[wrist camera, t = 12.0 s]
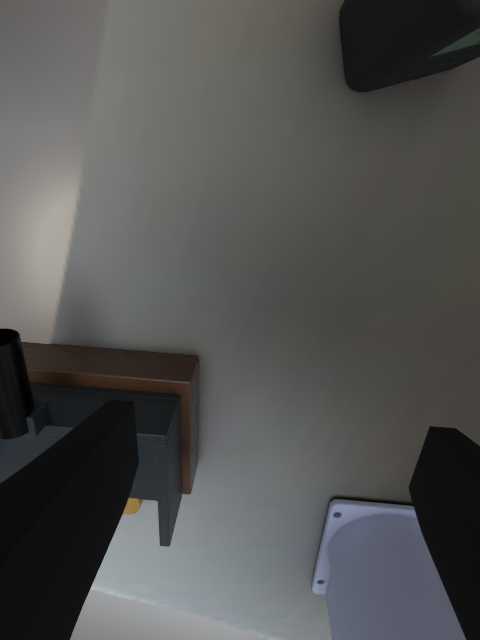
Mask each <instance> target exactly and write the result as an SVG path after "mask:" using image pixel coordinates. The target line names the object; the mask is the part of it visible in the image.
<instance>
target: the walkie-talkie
mask: <svg viewBox="0 0 480 640" xmlns="http://www.w3.org/2000/svg"><path fill="white" fill-rule="evenodd" d="M339 23H340V33H341V43H342V53H343V63H344V73H345V78H346V82H347V84H348V85H349V86H350V88H351V89H352V90H355V91H358V92H368V91H372V90H376V89H379V88H383V87H387V86H391V85H394V84H398V83H402V82H405V81H409V80H413V79H417V78H420V77H424V76H428V75H431V74H435V73H439V72H443V71H446V70H450V69H453V68H455V67H457V66H459V65H462V64H464V63H466V62H468V61H471V60H473V59H475V58H478V57H480V0H345V1H344V3H343V5H342V7H341V10H340V17H339Z"/></svg>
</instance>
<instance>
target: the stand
mask: <svg viewBox="0 0 480 640" xmlns="http://www.w3.org/2000/svg"><path fill="white" fill-rule="evenodd" d="M21 343H22V348H23V352H24V357H25V362H26V366H27V371H28V376H29V381H30V382H35V383H47V384H59V385H71V386H83V387H94V388H106V389H118V390H130V391H142V392H154V393H166V394H178V395H180V404H181V483H182V494H191V491H192V486H193V482H194V477H195V473H196V468H197V463H198V410H199V357H198V356H189V355H177V354H164V353H152V352H139V351H127V350H114V349H102V348H89V347H77V346H64V345H52V344H39V343H27V342H21Z"/></svg>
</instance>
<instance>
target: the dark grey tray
mask: <svg viewBox="0 0 480 640" xmlns="http://www.w3.org/2000/svg"><path fill="white" fill-rule="evenodd" d="M110 399H112V400H124V401H134V406H135V418H136V431H137V444H138V456H139V465H138V469H137V472H136V476H135V479H134V482H133V486H132V489H131V492H130V495H129V498H134V499H145V500H156V501H158V515H159V535H160V546H168V547H169V546H170V543H171V539H172V535H173V531H174V527H175V523H176V518H177V514H178V510H179V506H180V502H181V498H182V483H181V404H180V395H178V394H166V393H154V392H142V391H130V390H118V389H106V388H94V387H83V386H71V385H59V384H47V383H35V382H30V381H29V376H28V371H27V366H26V362H25V357H24V352H23V348H22V343H21V339H20V334H19V333H18V332H17V331H15V330H12V329H0V483H2V482H3V481H5V480H6V479H7V478H9V477H10V476H11V475H13V474H14V473H16V472H17V471H18V470H20V469H21V468H23V467H24V466H25V465H27V464H28V463H30V462H31V461H32V460H34V459H35V458H36V457H38V456H39V455H40V454H42V453H43V452H44V451H45V450H47V449H48V448H49V447H51V446H52V445H53V444H54V443H56V442H57V441H58V440H60V439H61V438H62V437H63V436H65V435H66V434H67V433H68V432H70V431H71V430H72V429H73V428H75V427H76V426H77V425H78V424H80V423H81V422H82V421H83V420H85V419H86V418H87V417H88V416H89V415H91V414H92V413H93V412H94V411H96V410H97V409H98V408H99V407H101V406H102V405H103V404H105V403H106V402H107V401H108V400H110Z"/></svg>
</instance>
